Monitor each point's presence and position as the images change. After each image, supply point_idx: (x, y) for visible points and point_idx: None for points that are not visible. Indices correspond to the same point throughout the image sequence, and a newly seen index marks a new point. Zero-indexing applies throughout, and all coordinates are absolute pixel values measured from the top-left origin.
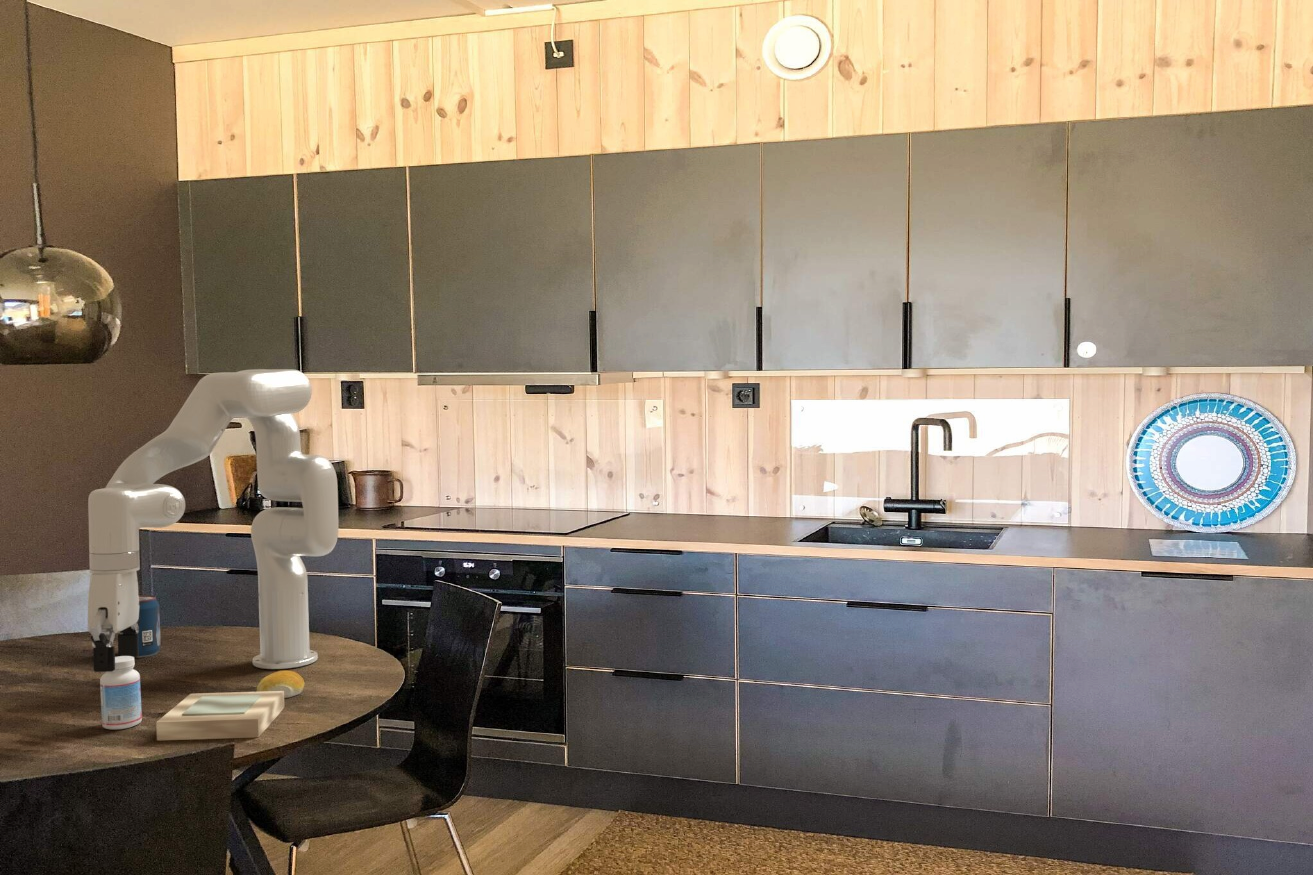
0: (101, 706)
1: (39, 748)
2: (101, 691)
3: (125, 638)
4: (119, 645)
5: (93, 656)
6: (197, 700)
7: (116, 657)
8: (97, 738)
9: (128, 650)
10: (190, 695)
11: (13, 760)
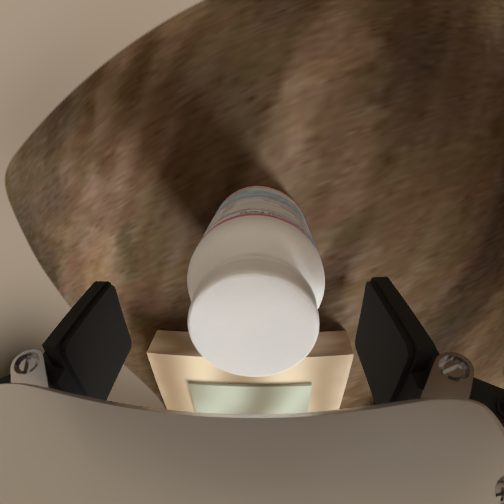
0: (226, 205)
1: (100, 122)
2: (211, 225)
3: (392, 370)
4: (385, 318)
5: (65, 316)
6: (295, 380)
7: (292, 309)
8: (161, 214)
9: (369, 336)
10: (338, 358)
11: (47, 119)
